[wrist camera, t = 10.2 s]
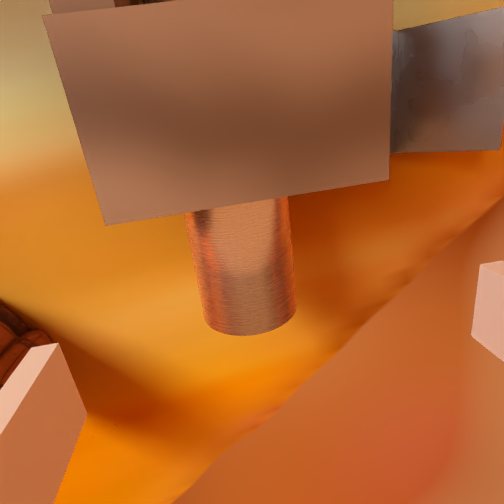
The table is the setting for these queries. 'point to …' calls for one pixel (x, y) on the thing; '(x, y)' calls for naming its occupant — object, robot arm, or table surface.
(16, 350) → the wooden figurine
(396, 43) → the v block
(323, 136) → the brown open box
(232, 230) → the axle
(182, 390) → the table surface
